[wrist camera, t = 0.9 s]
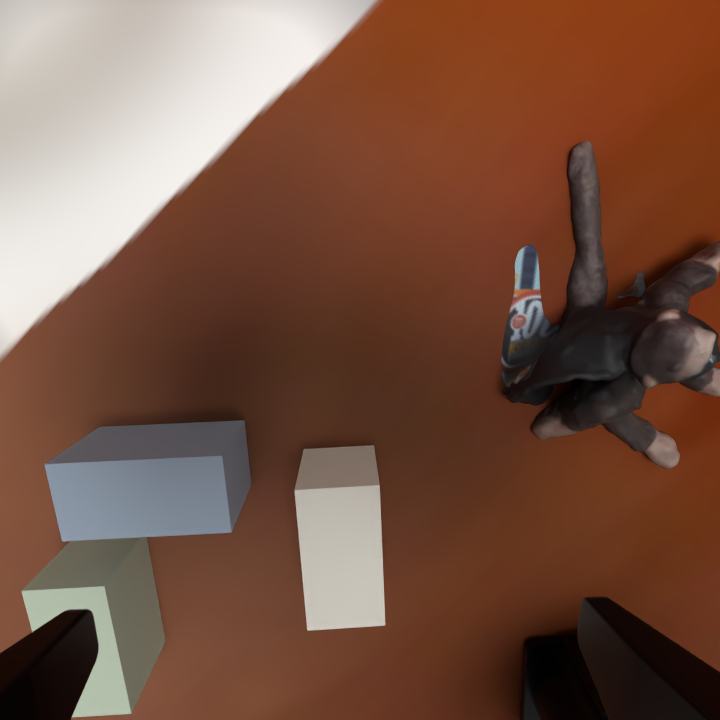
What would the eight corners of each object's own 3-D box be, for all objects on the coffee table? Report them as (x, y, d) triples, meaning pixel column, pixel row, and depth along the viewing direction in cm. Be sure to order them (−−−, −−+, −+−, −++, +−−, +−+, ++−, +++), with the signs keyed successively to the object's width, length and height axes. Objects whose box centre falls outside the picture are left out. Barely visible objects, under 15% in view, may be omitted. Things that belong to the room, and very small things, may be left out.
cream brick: (378, 563, 23) (385, 625, 19) (313, 567, 23) (307, 630, 19) (373, 443, 21) (379, 485, 18) (303, 447, 21) (294, 489, 17)
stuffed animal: (614, 516, 22) (556, 449, 13) (491, 392, 28) (401, 297, 20) (816, 355, 20) (898, 160, 11) (633, 265, 27) (600, 101, 18)
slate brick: (245, 419, 21) (222, 455, 17) (252, 483, 22) (231, 532, 18) (101, 425, 21) (44, 464, 17) (113, 490, 22) (62, 541, 18)
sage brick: (166, 639, 24) (131, 713, 20) (103, 643, 24) (55, 718, 20) (146, 528, 22) (104, 586, 18) (78, 532, 22) (21, 590, 18)
